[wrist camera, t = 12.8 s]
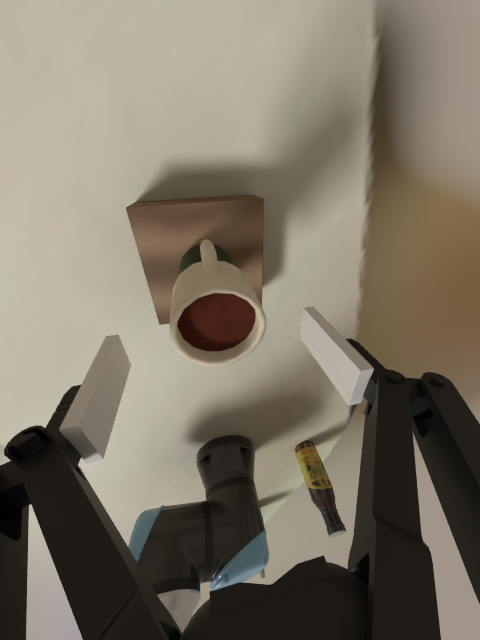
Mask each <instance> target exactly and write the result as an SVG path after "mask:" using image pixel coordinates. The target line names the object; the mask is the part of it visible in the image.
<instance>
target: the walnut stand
mask: <svg viewBox="0 0 480 640" xmlns="http://www.w3.org/2000/svg"><path fill="white" fill-rule="evenodd" d="M263 202H264V199H263V198H260V197H257V196H254V195H241V196H226V197H210V198H194V199H179V200H163V201H148V202H135V203H133V204H132V205H130V206H128V207H126V210H127V214H128V217H129V220H130V224H131V227H132V231H133V234H134V238H135V241H136V245H137V248H138V252H139V255H140V258H141V262H142V265H143V269H144V272H145V276H146V279H147V283H148V286H149V290H150V293H151V296H152V300H153V303H154V307H155V310H156V314H157V317H158V321H159V324H160V325H161V324H169V323H170V311H171V303H172V294H173V287H174V285H175V283H176V281H177V279H178V277H179V275H180V269H179V267H180V263H181V260H182V257H183V255H184V254H185V253H186V252H187V251H188V250H190V249H191V248H192V247H195V246H198V245H201V242H202V241H203V240H205V239H207V240H210V241H211V242H212V244H214V245H217V246H219V247H220V248H222V249H223V250H225V251H226V252H227V253H228V255H229V256H230V258H231V260H232V262H233V265H234V266H236V267H237V268H239V269H240V270H241V271H242V272H243V274H244V275H245V276H246V278H247V279H248V282H249V285H250V287H251V288H252V289H253V291H254V292H255V293H256V296H257V299H258V300H259V302H260V304H261V306H262V263H263Z"/></svg>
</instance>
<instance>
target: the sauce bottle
mask: <svg viewBox="0 0 480 640" xmlns="http://www.w3.org/2000/svg"><path fill="white" fill-rule="evenodd" d="M295 452H296V457H297V460H298V463H299V465H300V468H301V471H302V474H303V477H304V480H305V482H306V485H307V488H308V490H309V493H310V495H311V499H312V501H313V503H314V504H315V505H316V507H317V508H319V510H320V511H321V513H322V516H323V518H324V521H325V523H326V526H327V531H328V534H329V536H330V537H337V536H340V535H342V534H344V533H345V532H346V529H345V527H344V524H343V523H342V521H341V519H340V517H339V515H338V512H337V509H336V505H335V496H334V492H333V487H332V484H331V482H330V480H329V477H328V475H327V473H326V470H325V468H324V466H323V463H322V461H321V459H320V456H319V454H318V452H317V450H316V448H315V446H314V444H313V443H311V442H305V443H302V444H299V445H298V446H297V447H296V449H295Z"/></svg>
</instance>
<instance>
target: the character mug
mask: <svg viewBox="0 0 480 640" xmlns="http://www.w3.org/2000/svg"><path fill="white" fill-rule="evenodd" d="M179 269H180V275H179V277H178V279H177V281H176V283H175V285H174V287H173V294H172V303H171V311H170V340H171V341H172V343H173V345H174V347H175V348H176V350H177V352H178V353H180V354H181V355H182V356H184V357H185V358H187V359H188V360H189V361H191V362H194V363H198V364H201V365H205V366H224V365H227V364H230V363H233V362H236V361H239V360H240V359H242V358H243V357H245V356H246V355H248V354H249V353H251V352H252V351H253V350H254V349H255V348H256V346H257V345H258V344H259V343H260V342H261V340H262V338H263V335H264V333H265V330H266V316H265V314H264V311H263V309H262V306H261V304H260V302H259V300H258V299H257V296H256V293H255V292H254V291H253V289H252V288H251V287H250V285H249V282H248V279H247V278H246V276H245V275H244V274H243V272H242V271H241V270H240V269H239V268H237V267H236V266H234V265H233V262H232V260H231V258H230V256H229V255H228V253H227V252H226V251H225V250H223V249H222V248H220V247H219V246H217V245H214V244H212V242H211V241H210V240H207V239H205V240H203V241H202V242H201V245H198V246H195V247H192V248H191V249H190V250H188V251H187V252H186V253H185V254H184V255H183V257H182V260H181V263H180V267H179Z"/></svg>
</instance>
